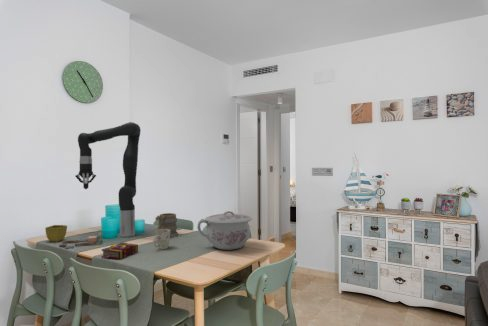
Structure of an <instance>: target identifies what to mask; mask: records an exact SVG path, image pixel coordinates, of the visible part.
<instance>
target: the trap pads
mask: <svg viewBox="0 0 488 326" xmlns="http://www.w3.org/2000/svg"><path fill="white" fill-rule="evenodd" d="M87 239H88V238H87ZM87 239H78V240H79V242H78V243H87V241H86V240H87ZM69 248H72V249H74V248H75V245H67V246H66V247H64V250H68V249H69ZM69 250H70V249H69Z"/></svg>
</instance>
